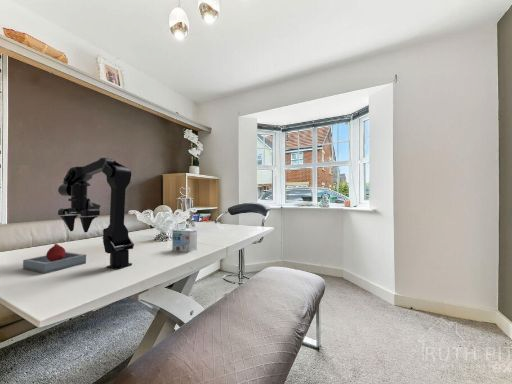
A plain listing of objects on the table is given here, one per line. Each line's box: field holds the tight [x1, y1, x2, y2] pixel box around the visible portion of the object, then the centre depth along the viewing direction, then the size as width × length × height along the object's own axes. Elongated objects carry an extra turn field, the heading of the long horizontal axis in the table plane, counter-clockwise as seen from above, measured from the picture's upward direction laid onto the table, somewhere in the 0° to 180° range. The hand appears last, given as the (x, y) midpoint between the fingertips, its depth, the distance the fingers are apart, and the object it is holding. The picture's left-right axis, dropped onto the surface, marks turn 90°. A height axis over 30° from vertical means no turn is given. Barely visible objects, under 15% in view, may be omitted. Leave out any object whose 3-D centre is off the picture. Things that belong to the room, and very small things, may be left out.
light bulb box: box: [171, 227, 198, 253], centre depth 119 cm, size 11×7×11 cm, turn 73°
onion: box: [45, 242, 67, 262], centre depth 91 cm, size 6×6×8 cm
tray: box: [22, 251, 87, 275], centre depth 91 cm, size 14×14×4 cm
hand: (78, 231), depth 101 cm, fingers open, 9 cm apart
